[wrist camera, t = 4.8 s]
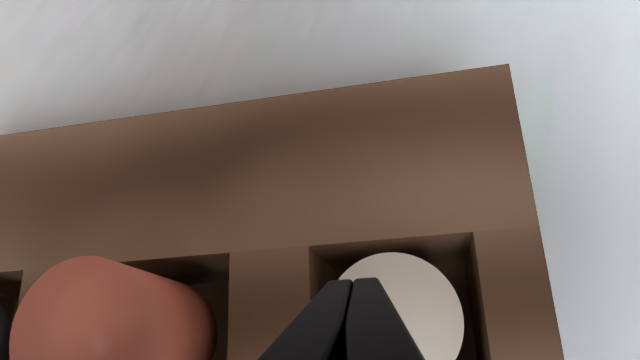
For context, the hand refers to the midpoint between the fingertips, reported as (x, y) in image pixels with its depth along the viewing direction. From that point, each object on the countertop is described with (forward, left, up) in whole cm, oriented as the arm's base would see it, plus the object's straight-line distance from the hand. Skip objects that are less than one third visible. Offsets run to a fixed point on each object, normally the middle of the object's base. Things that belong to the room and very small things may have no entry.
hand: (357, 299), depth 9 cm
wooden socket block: (+2, +7, -11) cm, 13 cm away
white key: (0, 0, -8) cm, 8 cm away
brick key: (0, +7, -6) cm, 9 cm away
